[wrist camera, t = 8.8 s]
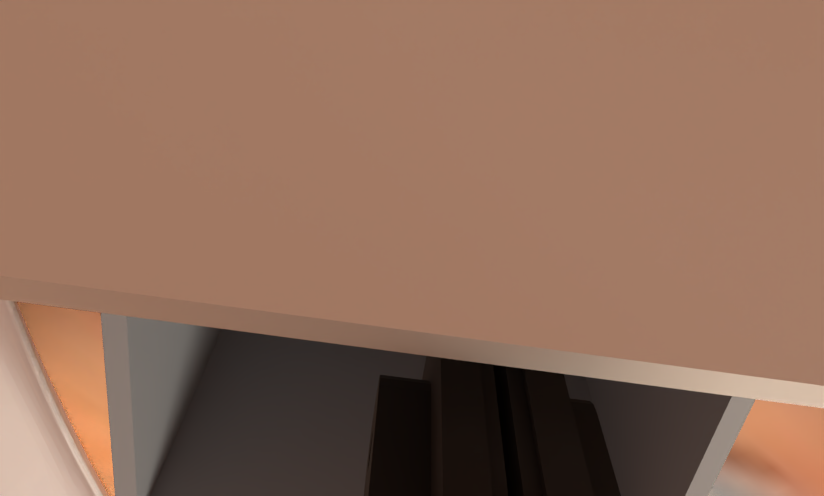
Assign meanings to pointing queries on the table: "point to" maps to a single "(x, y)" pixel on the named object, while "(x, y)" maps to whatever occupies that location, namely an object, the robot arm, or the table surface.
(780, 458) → the table surface
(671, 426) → the carton
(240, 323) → the flap
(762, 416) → the table surface
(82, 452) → the salad plate
